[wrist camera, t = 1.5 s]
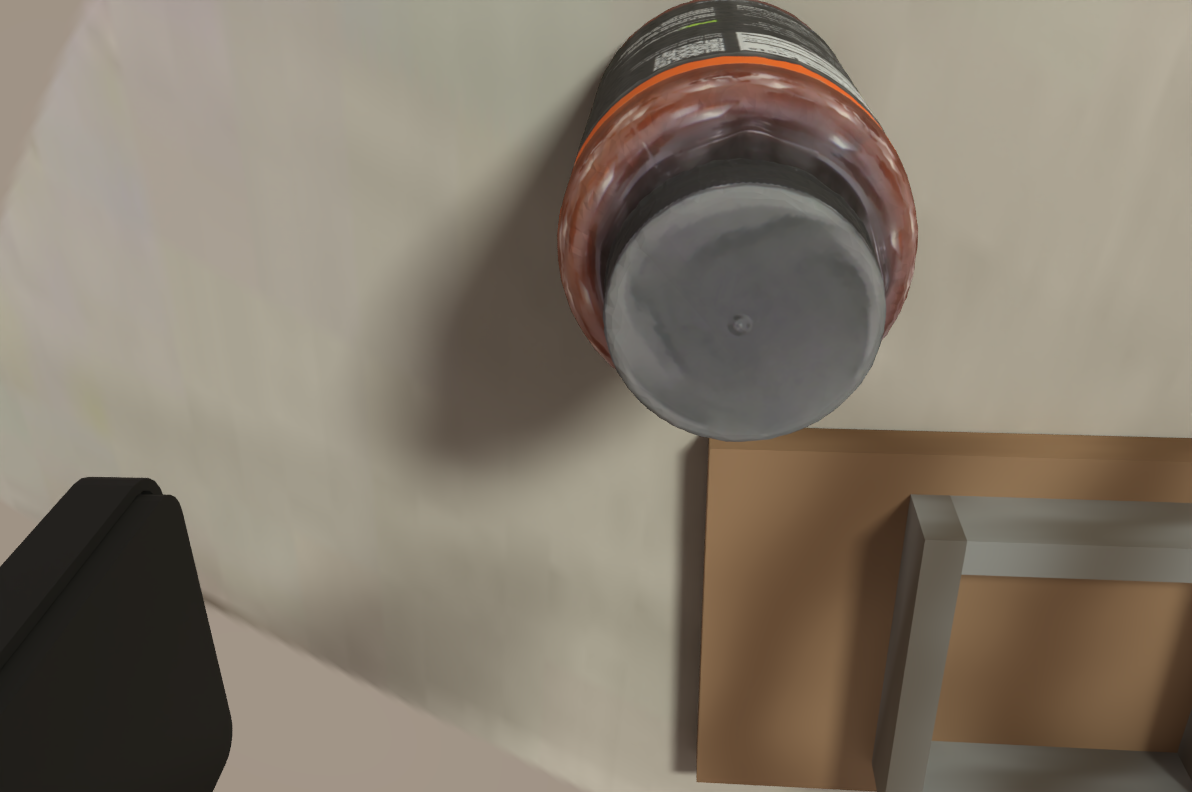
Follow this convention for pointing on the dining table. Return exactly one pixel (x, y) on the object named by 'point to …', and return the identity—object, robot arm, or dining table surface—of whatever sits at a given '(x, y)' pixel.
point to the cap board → (947, 612)
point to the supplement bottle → (735, 223)
